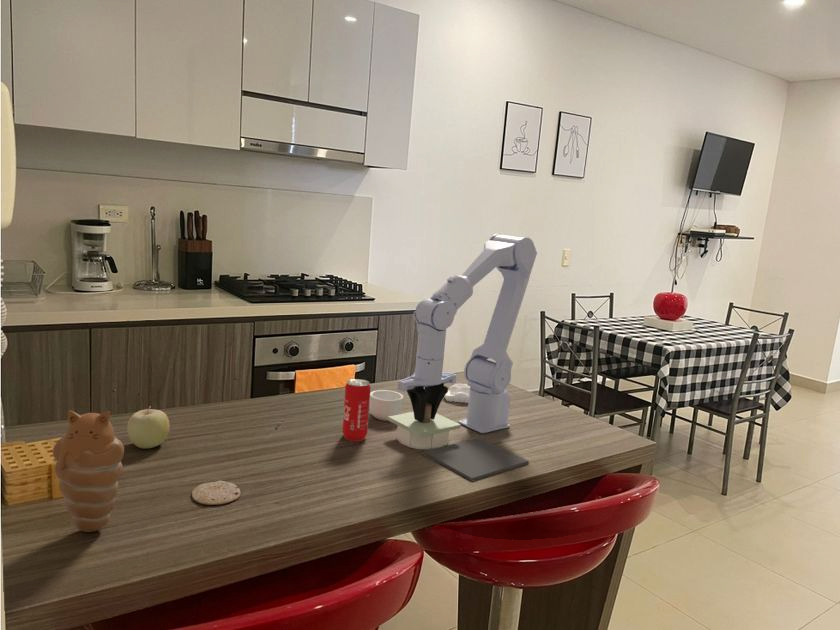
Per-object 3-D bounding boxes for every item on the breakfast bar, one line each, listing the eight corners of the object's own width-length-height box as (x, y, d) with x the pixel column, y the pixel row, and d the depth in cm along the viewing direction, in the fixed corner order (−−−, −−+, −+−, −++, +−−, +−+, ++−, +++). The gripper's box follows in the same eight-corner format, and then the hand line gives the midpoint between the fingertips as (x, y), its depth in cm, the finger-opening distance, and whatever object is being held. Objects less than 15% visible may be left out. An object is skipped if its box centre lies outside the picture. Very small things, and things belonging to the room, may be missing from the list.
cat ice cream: (46, 546, 85) (43, 419, 82) (68, 517, 93) (66, 399, 89) (116, 545, 87) (116, 420, 83) (132, 516, 94) (132, 401, 91)
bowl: (425, 427, 142) (426, 412, 141) (458, 443, 134) (459, 428, 133) (387, 435, 135) (388, 420, 134) (419, 453, 127) (420, 437, 126)
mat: (478, 440, 137) (479, 437, 137) (528, 463, 126) (528, 460, 126) (422, 454, 127) (423, 451, 127) (471, 481, 116) (472, 478, 116)
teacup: (408, 418, 147) (410, 396, 146) (385, 425, 141) (387, 402, 140) (378, 407, 153) (379, 385, 152) (354, 413, 147) (356, 391, 146)
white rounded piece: (460, 390, 158) (434, 380, 165) (458, 407, 158) (433, 396, 166) (488, 386, 164) (462, 376, 171) (486, 402, 165) (461, 392, 172)
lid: (426, 412, 141) (428, 393, 141) (460, 428, 133) (462, 408, 132) (387, 420, 134) (389, 400, 134) (420, 437, 126) (422, 416, 125)
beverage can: (362, 443, 130) (366, 387, 127) (338, 439, 131) (342, 383, 128) (369, 434, 135) (373, 380, 132) (346, 431, 136) (350, 377, 133)
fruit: (176, 447, 120) (177, 407, 119) (137, 456, 115) (137, 414, 113) (158, 435, 125) (158, 396, 124) (120, 443, 120) (120, 402, 118)
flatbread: (240, 505, 101) (240, 500, 100) (190, 508, 98) (190, 502, 98) (239, 483, 108) (240, 477, 108) (193, 485, 106) (193, 480, 106)
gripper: (442, 349, 139) (437, 408, 141) (390, 355, 129) (385, 418, 132) (465, 357, 133) (459, 418, 136) (412, 364, 124) (406, 429, 127)
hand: (424, 419), depth 134 cm, fingers closed on lid, 3 cm apart
